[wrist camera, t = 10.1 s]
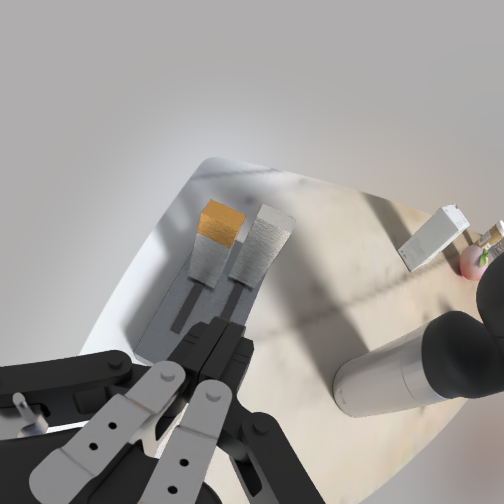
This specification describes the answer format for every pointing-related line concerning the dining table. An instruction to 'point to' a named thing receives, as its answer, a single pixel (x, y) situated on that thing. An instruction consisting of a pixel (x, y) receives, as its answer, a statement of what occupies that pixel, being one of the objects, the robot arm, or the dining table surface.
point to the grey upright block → (262, 245)
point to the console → (195, 309)
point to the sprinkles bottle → (491, 236)
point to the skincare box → (433, 236)
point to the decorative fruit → (473, 262)
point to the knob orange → (214, 242)
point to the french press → (496, 250)
